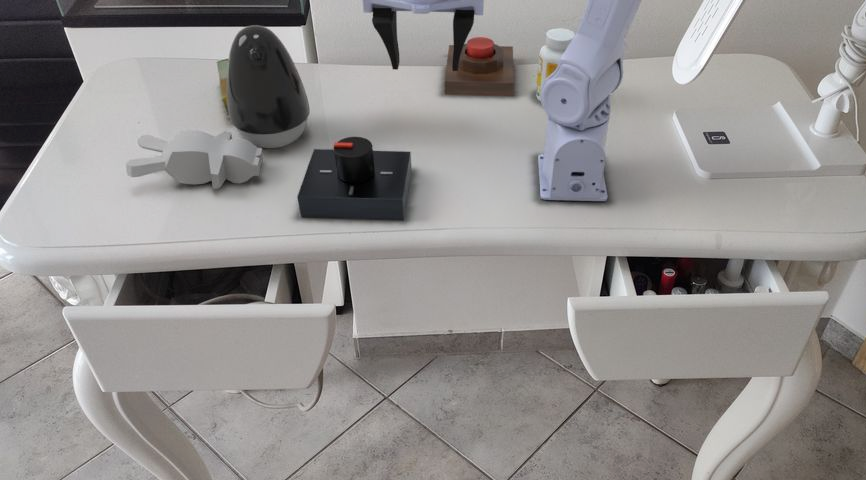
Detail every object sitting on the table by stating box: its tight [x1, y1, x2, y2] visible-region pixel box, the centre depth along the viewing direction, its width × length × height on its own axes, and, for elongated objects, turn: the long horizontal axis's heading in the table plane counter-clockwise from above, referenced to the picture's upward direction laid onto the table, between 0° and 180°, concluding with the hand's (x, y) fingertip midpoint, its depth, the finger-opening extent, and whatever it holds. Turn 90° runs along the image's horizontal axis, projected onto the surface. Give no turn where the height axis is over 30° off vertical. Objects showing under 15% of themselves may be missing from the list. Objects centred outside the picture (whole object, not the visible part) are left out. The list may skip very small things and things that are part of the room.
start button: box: [466, 36, 495, 59], centre depth 106 cm, size 4×4×2 cm
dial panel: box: [296, 148, 413, 221], centre depth 85 cm, size 10×12×3 cm
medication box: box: [216, 57, 229, 116], centre depth 101 cm, size 12×3×4 cm, turn 18°
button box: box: [444, 43, 515, 97], centre depth 108 cm, size 12×10×4 cm
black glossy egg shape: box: [227, 24, 311, 149], centre depth 90 cm, size 10×10×15 cm
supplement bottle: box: [535, 27, 576, 102], centre depth 101 cm, size 5×5×10 cm
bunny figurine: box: [125, 129, 264, 190], centre depth 87 cm, size 10×5×15 cm
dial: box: [333, 136, 375, 183], centre depth 83 cm, size 4×4×4 cm
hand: (425, 66), depth 92 cm, fingers open, 7 cm apart
